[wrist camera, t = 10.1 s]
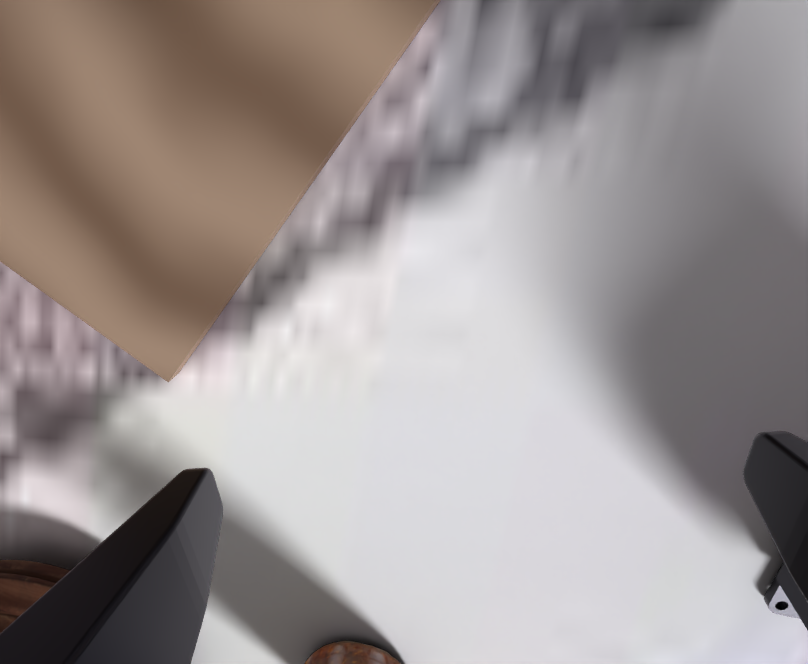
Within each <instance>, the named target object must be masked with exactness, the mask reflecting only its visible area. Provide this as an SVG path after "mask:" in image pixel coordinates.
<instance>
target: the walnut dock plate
mask: <svg viewBox="0 0 808 664" xmlns="http://www.w3.org/2000/svg"><path fill="white" fill-rule="evenodd" d="M439 2H440V0H0V261H1V262H2V263H3V264H5V265H6V266H7V267H9V268H10V269H12V270H13V271H14V272H16V273H17V274H19V275H20V276H21V277H23V278H24V279H26V280H27V281H28V282H30V283H31V284H32V285H34V286H35V287H37V288H38V289H39V290H41V291H42V292H44V293H45V294H46V295H48V296H49V297H51V298H52V299H53V300H55V301H56V302H57V303H59V304H60V305H62V306H63V307H64V308H66V309H67V310H69V311H70V312H71V313H73V314H74V315H76V316H77V317H78V318H80V319H81V320H82V321H84V322H85V323H87V324H88V325H89V326H91V327H92V328H94V329H95V330H96V331H98V332H99V333H101V334H102V335H103V336H105V337H106V338H107V339H109V340H110V341H112V342H113V343H114V344H116V345H117V346H119V347H120V348H121V349H123V350H124V351H126V352H127V353H128V354H130V355H131V356H132V357H134V358H135V359H137V360H138V361H139V362H141V363H142V364H144V365H145V366H146V367H148V368H149V369H151V370H152V371H153V372H155V373H156V374H157V375H159V376H160V377H162V378H163V379H164V380H166V381H167V382H169V381H170V380H171V379H173V378H174V377H175V376H176V375H177V374H178V373H179V372H180V370H181V369H182V368H183V366H184V365H185V363H186V362H187V360H188V359H189V358H190V356H191V355H192V353H193V352H194V350H195V349H196V348H197V346H198V345H199V343H200V342H201V341H202V339H203V338H204V336H205V335H206V333H207V332H208V331H209V329H210V328H211V326H212V325H213V323H214V322H215V321H216V319H217V318H218V316H219V315H220V313H221V312H222V311H223V309H224V308H225V306H226V305H227V303H228V302H229V301H230V299H231V298H232V296H233V295H234V294H235V292H236V291H237V289H238V288H239V286H240V285H241V284H242V282H243V281H244V279H245V278H246V276H247V275H248V274H249V272H250V271H251V269H252V268H253V266H254V265H255V264H256V262H257V261H258V259H259V258H260V257H261V255H262V254H263V252H264V251H265V249H266V248H267V247H268V245H269V244H270V242H271V241H272V239H273V238H274V237H275V235H276V234H277V232H278V231H279V229H280V228H281V227H282V225H283V224H284V222H285V221H286V219H287V218H288V217H289V215H290V214H291V212H292V211H293V210H294V208H295V207H296V205H297V204H298V202H299V201H300V200H301V198H302V197H303V195H304V194H305V192H306V191H307V190H308V188H309V187H310V185H311V184H312V182H313V181H314V180H315V178H316V177H317V175H318V174H319V173H320V171H321V170H322V168H323V167H324V165H325V164H326V163H327V161H328V160H329V158H330V157H331V155H332V154H333V153H334V151H335V150H336V148H337V147H338V145H339V144H340V143H341V141H342V140H343V138H344V137H345V136H346V134H347V133H348V131H349V130H350V128H351V127H352V126H353V124H354V123H355V121H356V120H357V118H358V117H359V116H360V114H361V113H362V111H363V110H364V108H365V107H366V106H367V104H368V103H369V101H370V100H371V98H372V97H373V96H374V94H375V93H376V91H377V90H378V89H379V87H380V86H381V84H382V83H383V81H384V80H385V79H386V77H387V76H388V74H389V73H390V71H391V70H392V69H393V67H394V66H395V64H396V63H397V61H398V60H399V59H400V57H401V56H402V54H403V53H404V52H405V50H406V49H407V47H408V46H409V44H410V43H411V42H412V40H413V39H414V37H415V36H416V34H417V33H418V32H419V30H420V29H421V27H422V26H423V24H424V23H425V22H426V20H427V19H428V17H429V16H430V14H431V13H432V12H433V10H434V9H435V7H436V6H437V5H438V3H439Z"/></svg>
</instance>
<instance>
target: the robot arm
mask: <svg viewBox="0 0 808 664" xmlns="http://www.w3.org/2000/svg"><path fill="white" fill-rule="evenodd" d="M743 475H744V480H745V484H746V486H747V488H748V490H749V492H750V494H751V496H752V498H753V500H754V502H755V504H756V506H757V508H758V510H759V512H760V515H761V517H762V519H763V521H764V523H765V525H766V527H767V529H768V531H769V533H770V535H771V537H772V539H773V541H774V543H775V545H776V547H777V549H778V551H779V553H780V555H781V557H782V559H783V561H784V563H783V564H782V566H781V568H780V570H779V571H778V573H777V575H776V577H775V578H774V580H773V582H772V584H771V586H770V587H769V589H768V591H767V593H766V594H765V597H764V600H765V602H766V604H767V606H768V608H769V609H770V611H772V612H773V613H776V614H780V615H784V616H789V617H794V618H799V619H801V620H802V622H803V623H804V625H805V627H806V628H807V630H808V442H807V441H805V440H803V439H801V438H799V437H797V436H795V435H793V434H791V433H788V432H785V431H775V432H762V433H759V434H758V435H757V436H756V437H755V438H754V440H753V443H752V446H751V449H750V452H749V455H748V457H747V460H746V463H745V466H744V471H743ZM222 516H223V506H222V501H221V498H220V494H219V491H218V488H217V485H216V482H215V478H214V475H213V473H212V471H211V470H210V469H208V468H195V469H186V470H183V471H182V472H180V473H179V474H178V475H177V476H176V477H175V478H174V479H173V480H171V481H170V482H169V483H168V484H167V485H166V486H165V487H164V488H162V489H161V490H160V491H159V492H158V493H157V494H156V495H155V496H153V497H152V498H151V499H150V500H149V501H148V502H147V503H146V504H145V505H143V506H142V507H141V508H140V509H139V510H138V511H137V512H136V513H134V514H133V515H132V516H131V517H130V518H129V519H128V520H127V521H125V522H124V523H123V524H122V525H121V526H120V527H119V528H118V529H117V530H115V531H114V532H113V533H112V534H111V535H110V536H109V537H108V538H106V539H105V540H104V541H103V542H102V543H101V544H100V545H99V546H98V547H96V548H95V549H94V550H93V551H92V552H91V553H90V554H89V555H87V556H86V557H85V558H84V559H83V560H82V561H81V562H80V563H78V564H77V565H76V566H75V567H74V568H73V569H72V570H71V571H70V572H68V573H67V574H66V575H65V576H64V577H63V578H62V579H61V580H59V581H58V582H57V583H56V584H55V585H54V586H53V587H52V588H51V589H49V590H48V591H47V592H46V593H45V594H44V595H43V596H42V597H40V598H39V599H38V600H37V601H36V602H35V603H34V604H33V605H31V606H30V607H29V608H28V609H27V610H26V611H25V612H24V613H23V614H21V615H20V616H19V617H18V618H17V619H16V620H15V621H14V622H12V623H11V624H10V625H9V626H8V627H7V628H6V629H5V630H3V631H2V632H1V633H0V664H191V660H192V657H193V653H194V650H195V646H196V643H197V639H198V636H199V632H200V629H201V626H202V622H203V618H204V614H205V610H206V606H207V601H208V596H209V591H210V585H211V580H212V574H213V568H214V563H215V557H216V551H217V546H218V540H219V534H220V528H221V523H222Z"/></svg>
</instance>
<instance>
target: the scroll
mask: <svg viewBox="0 0 808 664" xmlns="http://www.w3.org/2000/svg"><path fill="white" fill-rule="evenodd" d="M68 572H70V570H67V569H64V568H60V567H57V566H53V565H49V564H44V563H39V562H32V561H24V560H0V633H1V632H2V631H3V630H5V629H6V628H7V627H8V626H9V625H10V624H11V623H12V622H14V621H15V620H16V619H17V618H18V617H19V616H20V615H21V614H23V613H24V612H25V611H26V610H27V609H28V608H29V607H30V606H31V605H33V604H34V603H35V602H36V601H37V600H38V599H39V598H40V597H42V596H43V595H44V594H45V593H46V592H47V591H48V590H49V589H51V588H52V587H53V586H54V585H55V584H56V583H57V582H58V581H59V580H61V579H62V578H63V577H64V576H65V575H66V574H67V573H68Z"/></svg>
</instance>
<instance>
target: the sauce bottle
mask: <svg viewBox="0 0 808 664" xmlns="http://www.w3.org/2000/svg"><path fill="white" fill-rule="evenodd" d="M305 664H401V663H400V662H399V661H398V660H397V659H396V658H394V657H392V656H391V655H390V654H389V653H388V652H387V651H384V650H382V649H379V648H376V647H374V646H371V645H365V644H362V643H359V642H354V641H339V642H337V643H336V642H333V643H331V644H328V645H325V646H323V647H321V648H320V649H318V650H316V651H315V652H314V653H313V654H312V655H311V656H310V657H309V658H308V659H307V661H306V662H305Z"/></svg>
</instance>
